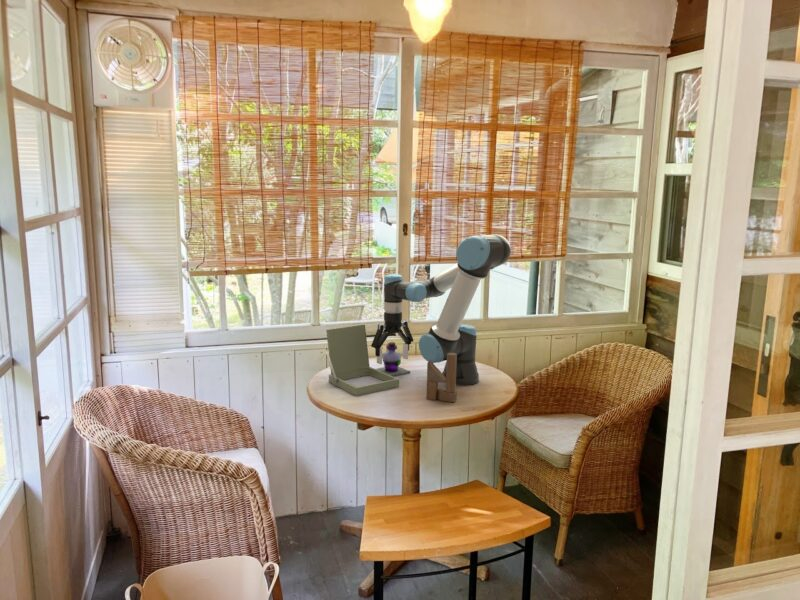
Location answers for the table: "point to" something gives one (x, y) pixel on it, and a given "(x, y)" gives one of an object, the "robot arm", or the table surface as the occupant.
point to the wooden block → (442, 380)
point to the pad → (397, 373)
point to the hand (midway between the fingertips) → (392, 361)
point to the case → (353, 361)
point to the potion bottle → (391, 358)
